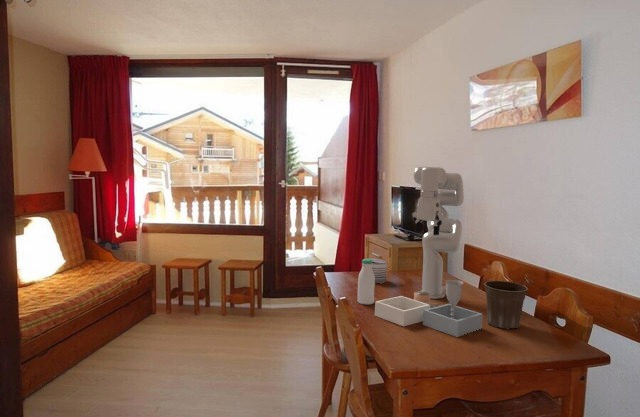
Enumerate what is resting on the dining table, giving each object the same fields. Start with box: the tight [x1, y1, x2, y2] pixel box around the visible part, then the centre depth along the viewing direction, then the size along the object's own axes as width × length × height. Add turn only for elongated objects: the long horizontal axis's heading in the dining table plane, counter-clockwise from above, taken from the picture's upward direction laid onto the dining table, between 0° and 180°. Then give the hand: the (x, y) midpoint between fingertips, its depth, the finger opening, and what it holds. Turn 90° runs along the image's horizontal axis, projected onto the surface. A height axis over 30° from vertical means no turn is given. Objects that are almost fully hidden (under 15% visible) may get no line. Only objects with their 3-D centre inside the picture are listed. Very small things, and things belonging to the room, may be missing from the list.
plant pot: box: [483, 280, 529, 329], centre depth 182 cm, size 16×16×16 cm
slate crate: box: [422, 303, 484, 338], centre depth 178 cm, size 16×16×6 cm
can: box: [370, 258, 387, 284], centre depth 249 cm, size 11×11×12 cm
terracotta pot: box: [413, 291, 431, 303], centre depth 200 cm, size 7×7×7 cm
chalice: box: [445, 279, 464, 319], centre depth 178 cm, size 7×7×18 cm
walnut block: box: [426, 301, 439, 308], centre depth 192 cm, size 5×5×5 cm
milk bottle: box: [357, 258, 376, 305], centre depth 208 cm, size 8×8×20 cm
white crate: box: [374, 295, 430, 327], centre depth 188 cm, size 16×16×6 cm
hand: (427, 233), depth 202 cm, fingers open, 9 cm apart
